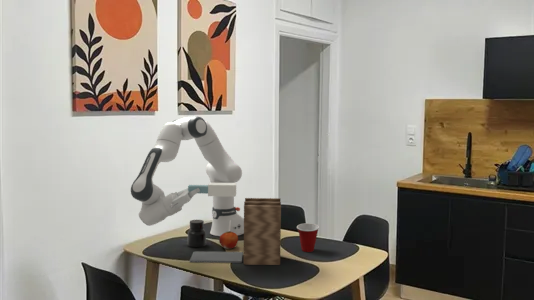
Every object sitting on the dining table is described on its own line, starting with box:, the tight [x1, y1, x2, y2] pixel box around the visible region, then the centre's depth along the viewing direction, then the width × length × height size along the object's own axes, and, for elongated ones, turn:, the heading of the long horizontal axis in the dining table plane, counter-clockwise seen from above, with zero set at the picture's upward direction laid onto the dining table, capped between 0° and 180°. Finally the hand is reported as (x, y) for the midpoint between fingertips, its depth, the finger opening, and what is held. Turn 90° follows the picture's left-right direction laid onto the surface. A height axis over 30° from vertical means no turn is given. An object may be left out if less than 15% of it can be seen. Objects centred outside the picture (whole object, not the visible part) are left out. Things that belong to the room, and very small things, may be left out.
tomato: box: [219, 231, 239, 250], centre depth 246 cm, size 9×9×8 cm
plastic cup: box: [296, 222, 320, 253], centre depth 243 cm, size 11×11×12 cm
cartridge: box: [187, 182, 237, 197], centre depth 226 cm, size 21×6×5 cm, turn 90°
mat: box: [189, 250, 244, 264], centre depth 231 cm, size 23×13×1 cm, turn 90°
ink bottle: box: [187, 219, 207, 248], centre depth 249 cm, size 10×9×12 cm
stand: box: [243, 197, 282, 266], centre depth 227 cm, size 16×14×27 cm
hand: (200, 188), depth 226 cm, fingers closed on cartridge, 3 cm apart
